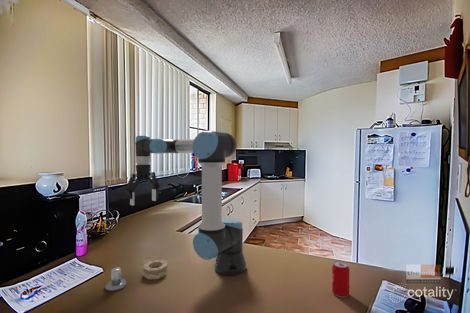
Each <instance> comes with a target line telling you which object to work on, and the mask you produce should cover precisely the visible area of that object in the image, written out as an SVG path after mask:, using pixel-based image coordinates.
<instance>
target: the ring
mask: <svg viewBox="0 0 470 313" xmlns="http://www.w3.org/2000/svg"><path fill="white" fill-rule="evenodd" d="M167 275H168V261H165V260H163V259H156V260H155V259H153V260H151V261H149V262H148V261H147V262H146V263H145V264H144V265H143V277H144V278H146V279H148V280H158V279H161V278H163V277H165V276H167Z"/></svg>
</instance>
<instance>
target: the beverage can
mask: <svg viewBox="0 0 470 313" xmlns="http://www.w3.org/2000/svg"><path fill="white" fill-rule="evenodd" d="M331 271H332V272H331V291H332V293H333V295H334V296H336V297H338V298H343V299H344V298H347V297H348V296H350V267H349V265H348V263H347V262H344V261H341V260H336V261H334V262H333V263H332V266H331Z"/></svg>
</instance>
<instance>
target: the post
mask: <svg viewBox="0 0 470 313" xmlns="http://www.w3.org/2000/svg"><path fill="white" fill-rule="evenodd" d="M110 274H111V276H110V278H111V279H110V281H108V282H107V283H106V284H105V286H104V288H105V291H106V292H117V291H120V290H123V289H124V288H125V287H126V286H127V284H128V283H127V279H125V278H122V268H121V267H119V266H118V267H113V268H112V269H111V270H110Z"/></svg>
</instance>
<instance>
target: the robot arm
mask: <svg viewBox="0 0 470 313" xmlns="http://www.w3.org/2000/svg"><path fill="white" fill-rule="evenodd" d="M134 144H135V163H136V165H135V173H130V177H129V181H128V182H127V185H126V187H125V189H124V192H125V193H128V199H129V205H130V206H135V192H134V191H135V190H136V188H137V187H138V186H139V184H140V183H141V182H148V184H149V185H150V187H151V200H152V201H154V202H156V201H157V194H158V190H159V188H161V185H160V183H159V181H158V178H157V176H156V172H155V171H151V166H152V165H151V162H152V160H151V154H156V155H157V154H194V156H195V157H196V158H197V162H198V165H200V167H201V222H200V223H199V224H198V228H197V229H198V232H197V233H196V234H195V235H194V236H193V238H192V248H193V250H194V252H195V253H196V255H198V257H199V258H201V259H203V260H205V261H210V260H212V259H215V262H214V270H215V271H216V272H217V273H218V274H220V275H223V276H237V275H240V274H242V273H244V272H245V271H246V269H247V262H246V259H245V255H244V252H243V245H244V244H243V239H244V238H243V236H244V235H243V233H244V232H243V230H244V228H243V222H242V221H240V220H239V219H233V218H223V217H222V216H223V215H222V214H223V212H222V210H223V209H222V208H223V207H222V206H223V205H222V204H223V202H222V200H223V198H222V197H223V196H222V194H223V193H222V192H223V190H222V189H223V188H222V187H223V185H222V184H223V180H222V179H223V178H222V177H223V175H222V173H223V172H222V171H223V170H222V169H223V166H224V164H226V159H227V158H230V157H231V156H233V155H234V154H235V152H236V150H237V148H238V146H237V140H236V138H235V137H234V135H232V134H230V133H228V132H221V131H216V130H215V131H213V130H204V131H201V132H198V133H197V134H196V136H195V137H194V138H187V139H185V138H184V139H165V138H163V139H162V138H151V136H149V135H136V137H135V143H134Z"/></svg>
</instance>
